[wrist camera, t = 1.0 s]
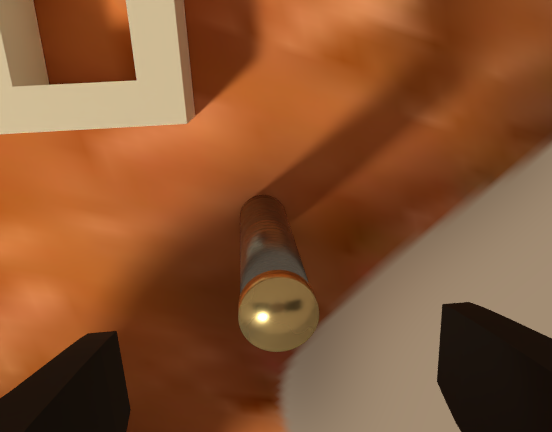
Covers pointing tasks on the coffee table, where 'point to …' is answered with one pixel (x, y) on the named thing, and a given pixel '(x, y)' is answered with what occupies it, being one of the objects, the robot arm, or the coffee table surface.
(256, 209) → the metal peg
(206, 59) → the coffee table surface
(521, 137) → the coffee table surface
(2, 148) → the coffee table surface
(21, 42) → the block with square hole
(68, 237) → the coffee table surface
